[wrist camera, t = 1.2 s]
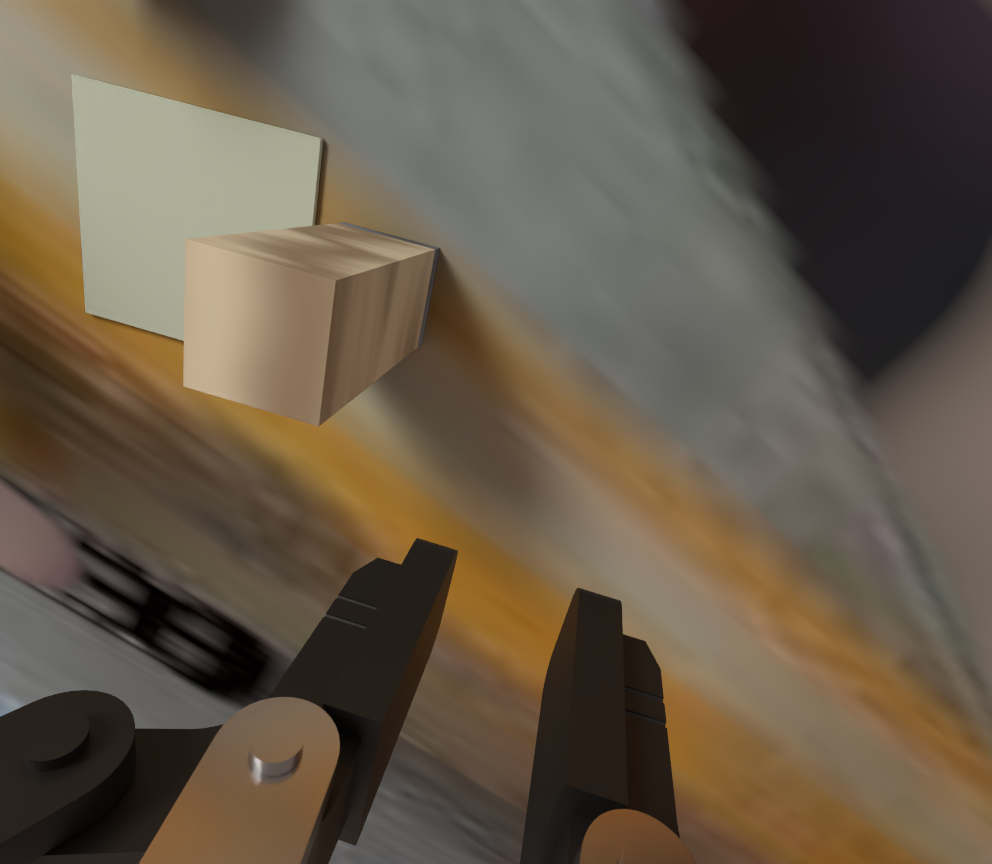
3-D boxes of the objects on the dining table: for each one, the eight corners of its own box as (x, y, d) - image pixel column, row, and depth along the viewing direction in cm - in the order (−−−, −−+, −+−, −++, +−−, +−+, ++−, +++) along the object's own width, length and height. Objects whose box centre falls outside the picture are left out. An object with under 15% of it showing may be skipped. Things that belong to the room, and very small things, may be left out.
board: (89, 311, 34) (85, 312, 33) (76, 75, 29) (71, 73, 28) (300, 372, 33) (298, 373, 32) (323, 138, 28) (320, 138, 27)
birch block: (333, 319, 31) (183, 386, 20) (344, 222, 29) (185, 238, 18) (421, 344, 31) (318, 426, 20) (439, 247, 29) (335, 280, 18)
